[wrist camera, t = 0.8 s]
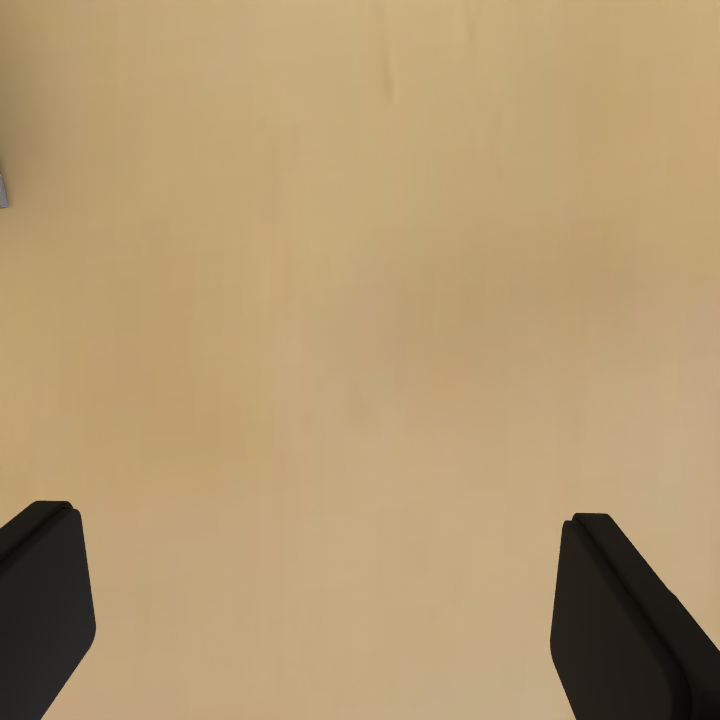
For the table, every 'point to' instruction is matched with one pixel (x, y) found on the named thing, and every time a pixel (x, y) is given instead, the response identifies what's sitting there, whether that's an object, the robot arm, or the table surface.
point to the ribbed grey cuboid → (2, 195)
